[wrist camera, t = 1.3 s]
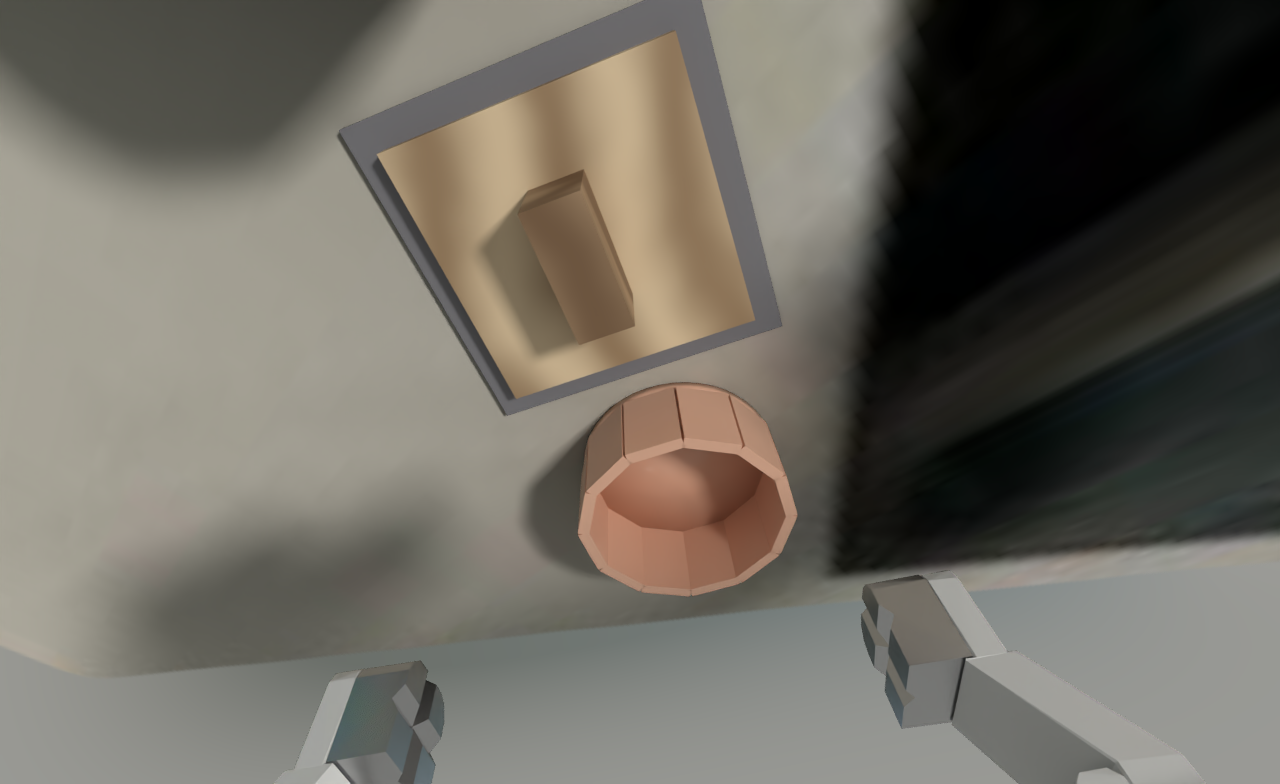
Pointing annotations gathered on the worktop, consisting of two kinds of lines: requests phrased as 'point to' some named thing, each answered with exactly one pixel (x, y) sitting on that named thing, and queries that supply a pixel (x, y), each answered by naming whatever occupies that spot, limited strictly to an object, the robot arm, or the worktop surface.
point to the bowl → (683, 491)
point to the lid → (580, 219)
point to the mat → (663, 10)
